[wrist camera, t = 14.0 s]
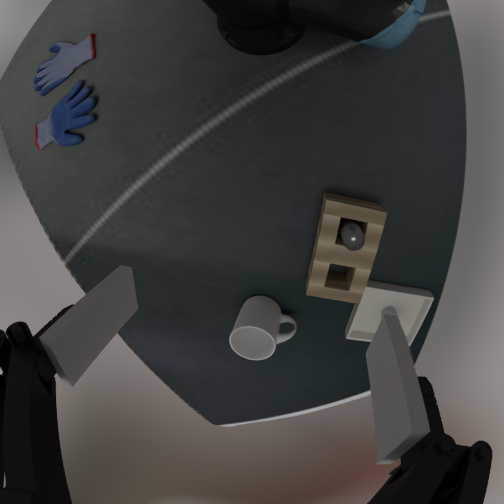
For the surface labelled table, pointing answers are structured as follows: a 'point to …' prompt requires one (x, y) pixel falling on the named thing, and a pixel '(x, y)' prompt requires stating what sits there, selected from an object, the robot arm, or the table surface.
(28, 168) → the table surface
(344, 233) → the short pin
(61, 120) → the pair of gloves
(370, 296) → the tray
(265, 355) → the mug
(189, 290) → the table surface
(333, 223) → the block
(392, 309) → the glass vial with cap
